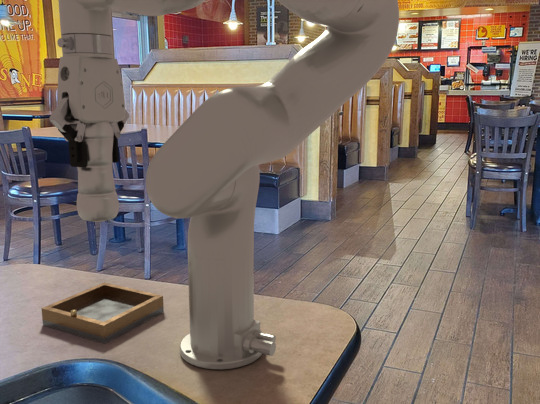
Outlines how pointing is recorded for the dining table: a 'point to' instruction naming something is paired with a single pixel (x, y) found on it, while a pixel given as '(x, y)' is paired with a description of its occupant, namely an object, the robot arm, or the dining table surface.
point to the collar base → (102, 312)
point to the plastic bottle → (97, 175)
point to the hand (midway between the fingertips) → (95, 163)
